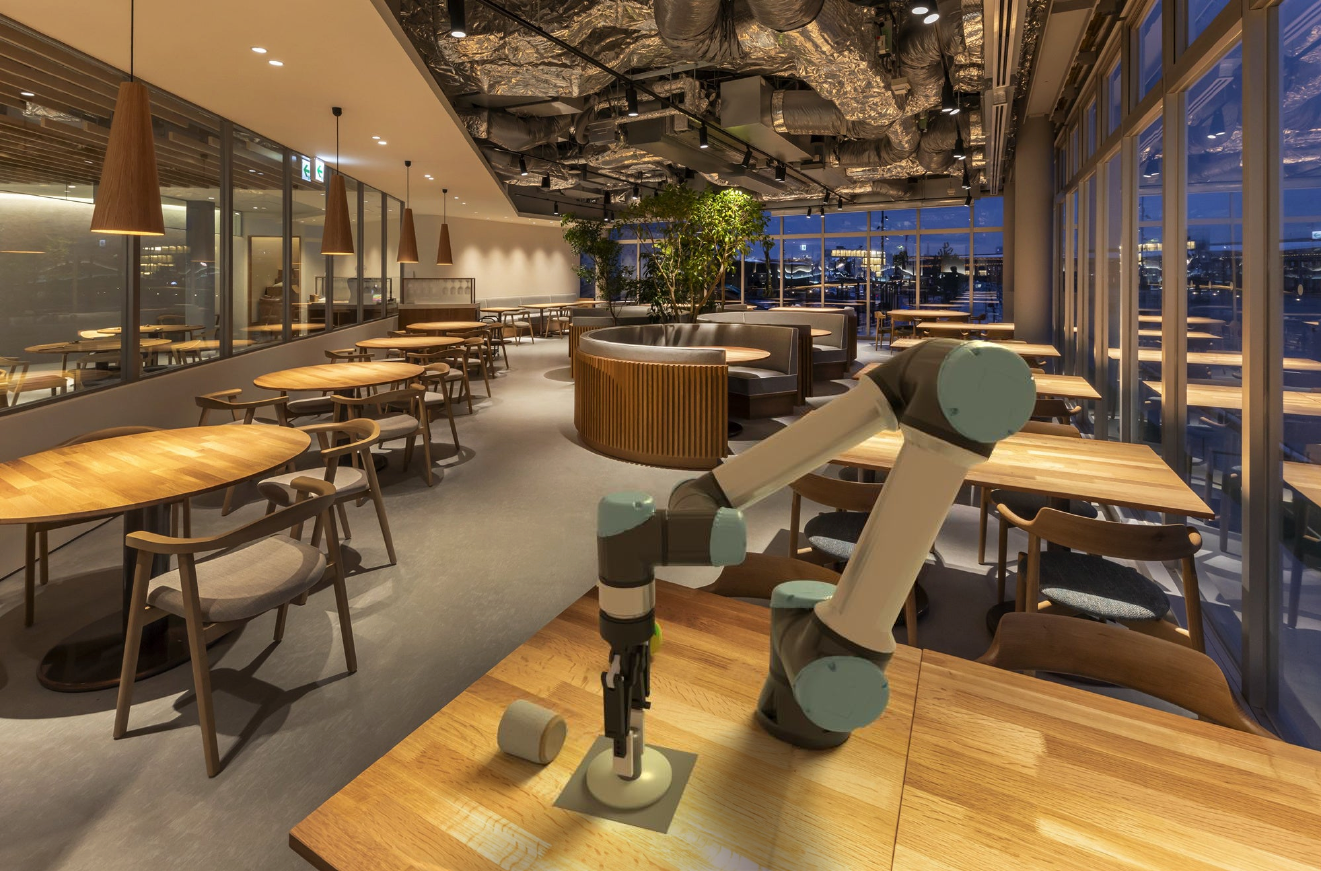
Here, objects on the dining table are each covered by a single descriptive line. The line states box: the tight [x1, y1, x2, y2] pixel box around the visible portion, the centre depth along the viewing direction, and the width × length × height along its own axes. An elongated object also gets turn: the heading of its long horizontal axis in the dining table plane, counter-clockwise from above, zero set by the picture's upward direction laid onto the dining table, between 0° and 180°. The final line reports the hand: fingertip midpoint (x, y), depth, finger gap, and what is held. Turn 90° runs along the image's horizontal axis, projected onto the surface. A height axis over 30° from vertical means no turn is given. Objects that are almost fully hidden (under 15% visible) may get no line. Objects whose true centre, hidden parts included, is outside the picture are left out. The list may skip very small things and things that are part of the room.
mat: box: [552, 733, 700, 834], centre depth 95 cm, size 16×16×1 cm
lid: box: [587, 726, 672, 810], centre depth 94 cm, size 12×12×7 cm
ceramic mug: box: [496, 698, 569, 765], centre depth 101 cm, size 11×8×8 cm
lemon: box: [650, 620, 664, 656], centre depth 128 cm, size 7×6×10 cm
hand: (629, 761), depth 94 cm, fingers open, 4 cm apart
